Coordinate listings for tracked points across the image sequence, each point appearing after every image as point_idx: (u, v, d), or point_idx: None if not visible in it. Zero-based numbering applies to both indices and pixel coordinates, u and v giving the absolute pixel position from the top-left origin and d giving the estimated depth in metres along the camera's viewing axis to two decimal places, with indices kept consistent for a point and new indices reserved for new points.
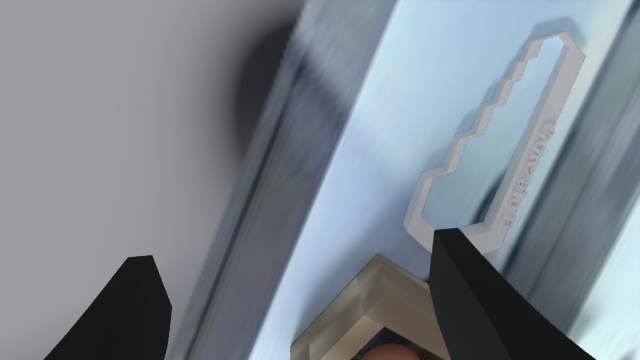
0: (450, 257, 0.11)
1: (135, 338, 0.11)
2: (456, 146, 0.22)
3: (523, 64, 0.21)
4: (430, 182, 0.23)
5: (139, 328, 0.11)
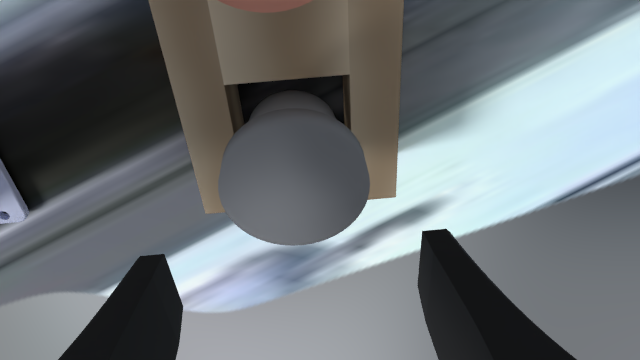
0: (437, 258, 0.11)
1: (149, 337, 0.11)
2: None
3: None
4: None
5: (152, 327, 0.11)
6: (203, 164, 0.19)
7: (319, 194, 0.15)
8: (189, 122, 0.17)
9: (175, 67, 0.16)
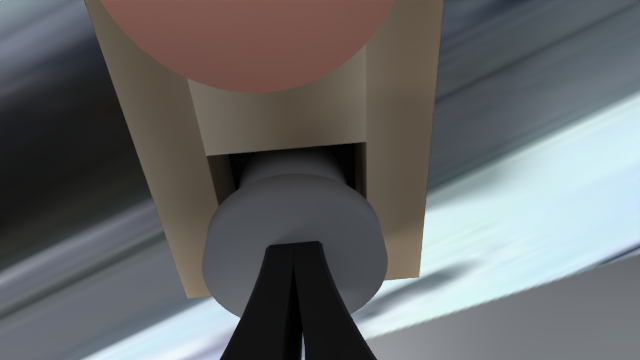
0: (294, 271, 0.11)
1: (293, 324, 0.11)
2: None
3: None
4: None
5: (294, 314, 0.11)
6: (182, 245, 0.15)
7: None
8: (163, 199, 0.14)
9: (143, 135, 0.13)
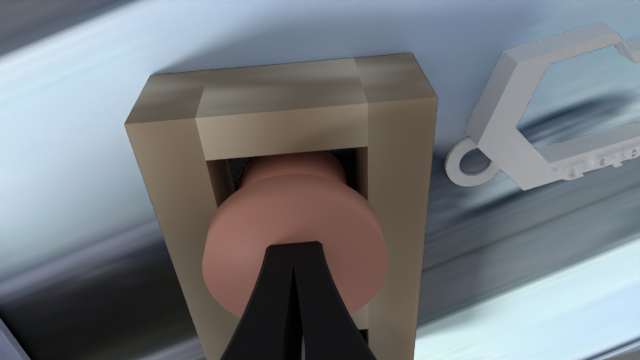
0: (294, 271, 0.11)
1: (293, 323, 0.11)
2: None
3: None
4: (612, 41, 0.14)
5: (294, 314, 0.11)
6: None
7: None
8: None
9: (204, 330, 0.17)
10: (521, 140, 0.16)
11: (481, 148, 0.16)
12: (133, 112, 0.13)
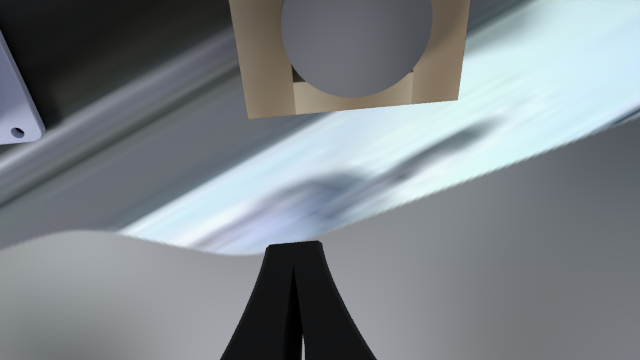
0: (294, 271, 0.11)
1: (293, 323, 0.11)
2: None
3: None
4: None
5: (294, 314, 0.11)
6: (250, 55, 0.17)
7: (381, 34, 0.15)
8: None
9: None
10: None
11: None
12: None
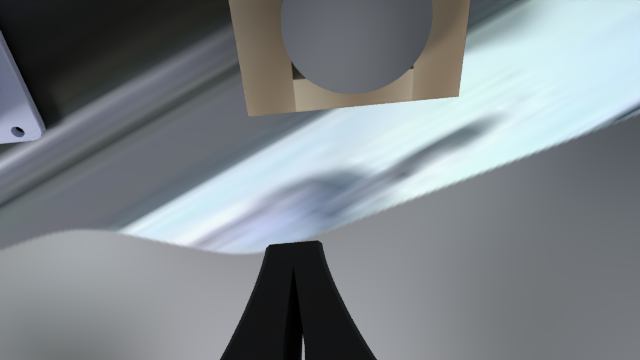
0: (294, 271, 0.11)
1: (293, 323, 0.11)
2: None
3: None
4: None
5: (294, 314, 0.11)
6: (249, 52, 0.17)
7: (381, 30, 0.15)
8: None
9: None
10: None
11: None
12: None
